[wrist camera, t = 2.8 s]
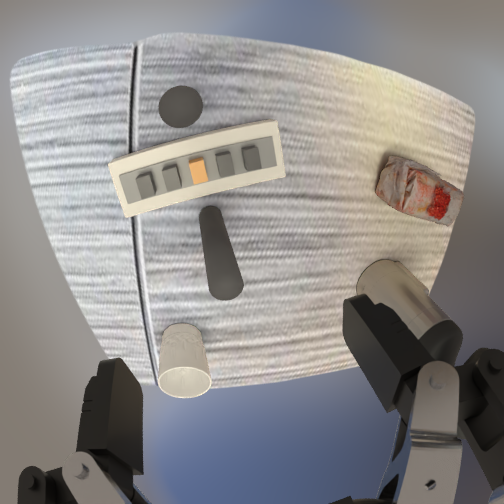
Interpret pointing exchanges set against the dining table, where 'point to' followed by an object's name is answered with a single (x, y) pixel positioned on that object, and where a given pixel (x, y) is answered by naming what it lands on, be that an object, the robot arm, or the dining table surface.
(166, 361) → the white cup
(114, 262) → the dining table surface
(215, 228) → the dark grey cylinder rod
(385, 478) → the robot arm
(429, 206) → the food item
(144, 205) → the breaker panel
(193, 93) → the dark grey post
